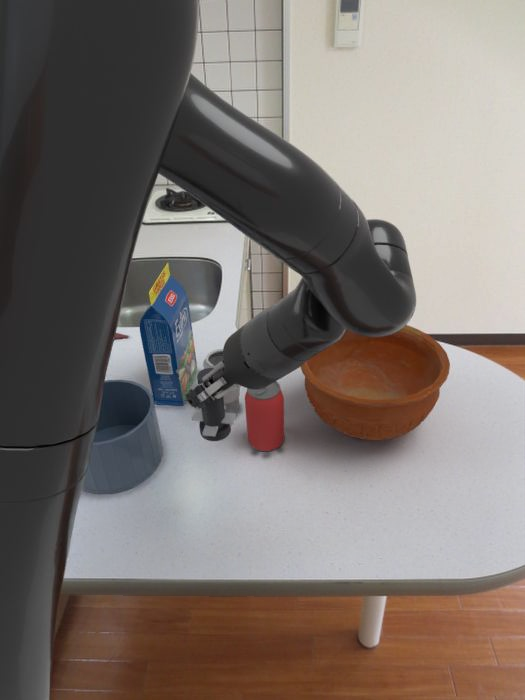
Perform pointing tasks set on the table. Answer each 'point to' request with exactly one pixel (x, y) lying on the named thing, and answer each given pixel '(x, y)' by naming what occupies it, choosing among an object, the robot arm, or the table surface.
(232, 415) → the dark grey cylinder
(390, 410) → the bowl
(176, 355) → the blue food package
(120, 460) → the bowl
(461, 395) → the table surface
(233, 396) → the cup
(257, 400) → the beer can
